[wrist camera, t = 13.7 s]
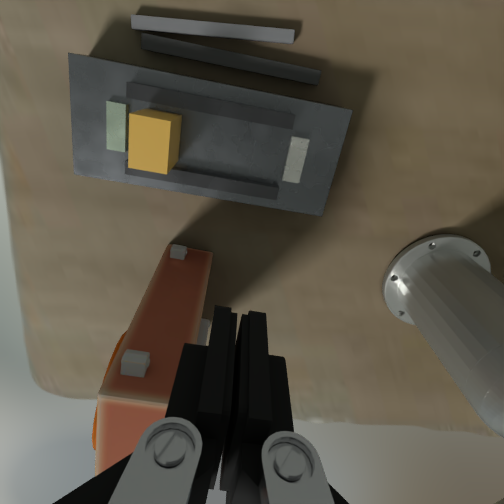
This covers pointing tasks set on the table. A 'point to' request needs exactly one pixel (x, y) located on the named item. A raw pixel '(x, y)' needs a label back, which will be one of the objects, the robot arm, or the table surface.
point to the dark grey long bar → (229, 59)
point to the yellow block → (154, 140)
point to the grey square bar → (212, 29)
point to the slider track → (208, 135)
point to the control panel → (151, 353)
